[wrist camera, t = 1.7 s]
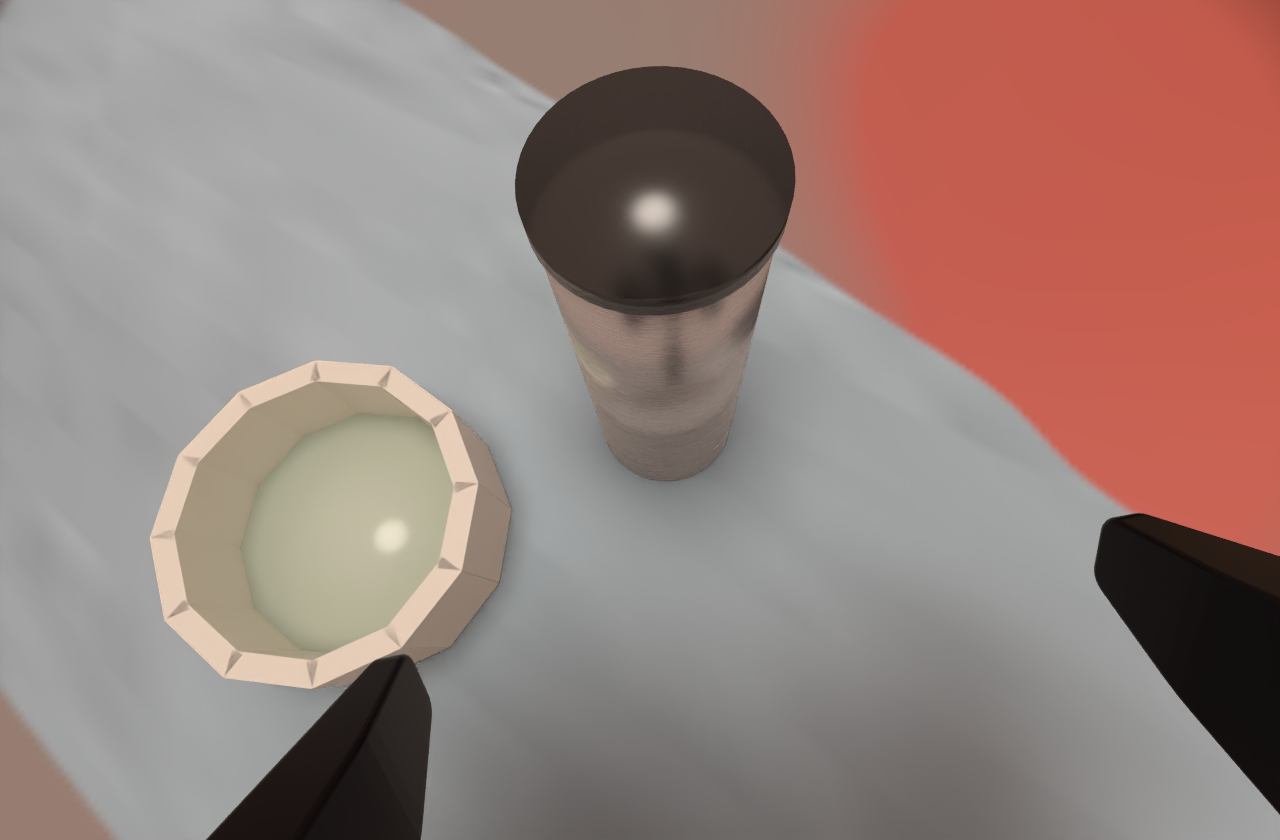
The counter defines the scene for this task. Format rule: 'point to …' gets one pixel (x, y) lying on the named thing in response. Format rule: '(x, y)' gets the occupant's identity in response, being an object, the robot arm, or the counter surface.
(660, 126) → the canister
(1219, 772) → the counter surface
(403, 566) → the bowl
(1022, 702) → the counter surface
